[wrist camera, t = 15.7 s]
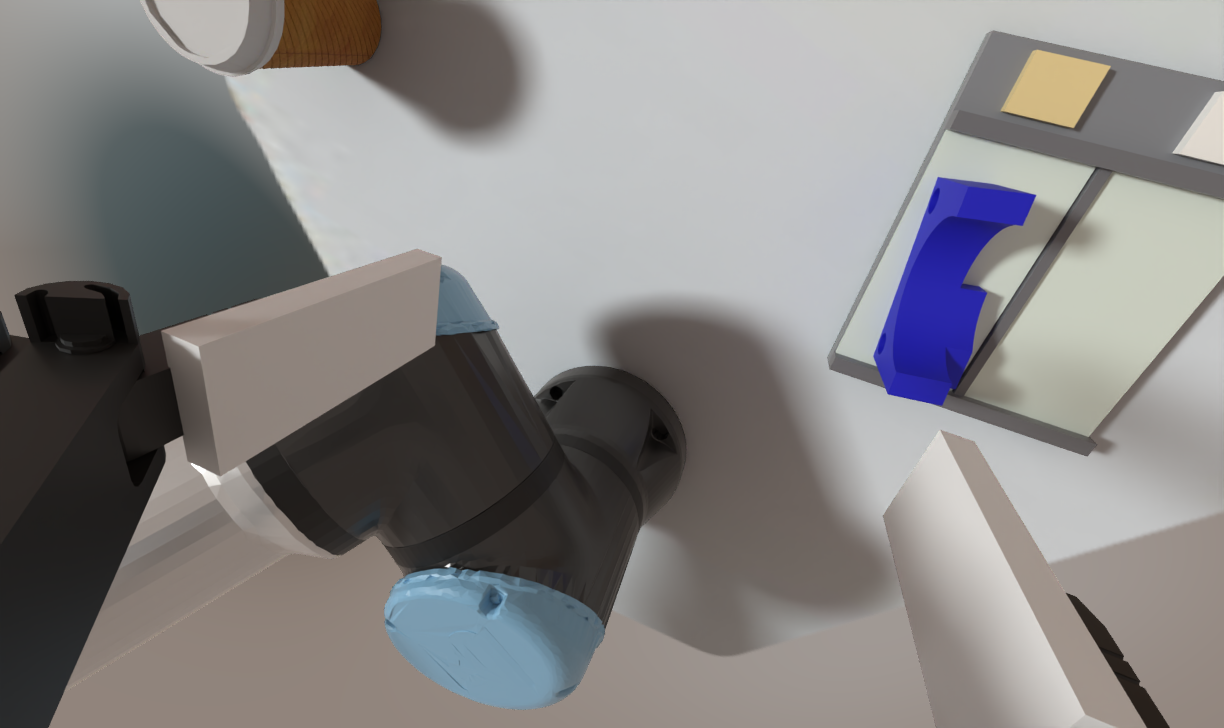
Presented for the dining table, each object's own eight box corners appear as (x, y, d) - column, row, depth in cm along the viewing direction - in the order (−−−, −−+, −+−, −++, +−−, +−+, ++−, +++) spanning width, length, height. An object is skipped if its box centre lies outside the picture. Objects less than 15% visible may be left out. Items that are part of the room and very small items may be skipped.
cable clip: (942, 370, 35) (970, 411, 30) (873, 356, 36) (887, 394, 31) (1022, 187, 30) (1071, 199, 25) (937, 176, 31) (968, 186, 26)
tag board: (827, 357, 38) (829, 369, 37) (986, 33, 29) (1001, 26, 27) (1071, 439, 36) (1087, 456, 34) (1339, 111, 26) (1383, 110, 24)
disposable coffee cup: (276, -40, 39) (90, -102, 29) (376, -79, 36) (207, -165, 25) (321, 99, 42) (169, 89, 32) (415, 75, 39) (281, 55, 29)
